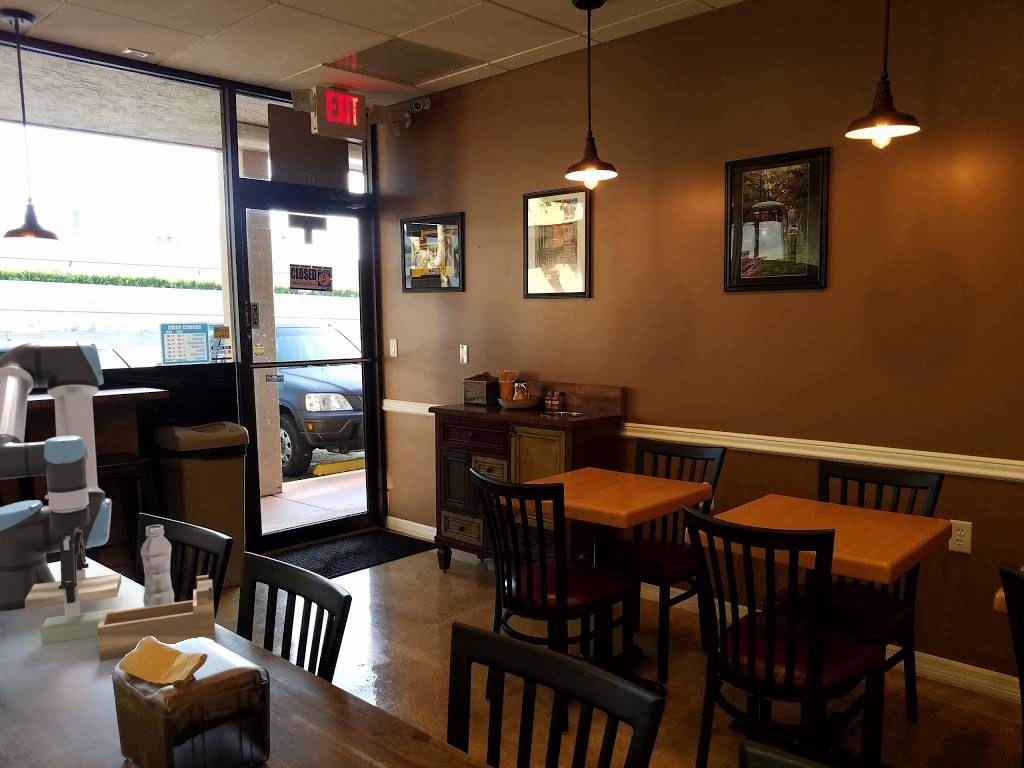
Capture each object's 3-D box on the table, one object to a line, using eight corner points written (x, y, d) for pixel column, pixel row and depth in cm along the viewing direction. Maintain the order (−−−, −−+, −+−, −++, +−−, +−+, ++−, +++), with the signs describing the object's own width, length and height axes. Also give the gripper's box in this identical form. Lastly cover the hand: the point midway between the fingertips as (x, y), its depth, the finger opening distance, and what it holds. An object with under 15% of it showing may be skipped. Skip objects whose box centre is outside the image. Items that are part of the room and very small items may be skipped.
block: (198, 591, 170) (197, 581, 170) (212, 589, 171) (212, 579, 171) (197, 600, 165) (197, 589, 165) (213, 598, 167) (212, 587, 166)
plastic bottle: (140, 609, 184) (134, 527, 182) (169, 601, 189) (164, 521, 186) (148, 617, 179) (143, 533, 177) (179, 609, 184) (174, 527, 182)
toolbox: (104, 642, 166) (101, 588, 165) (214, 625, 175) (211, 574, 173) (99, 662, 157) (95, 605, 156) (215, 644, 165) (212, 589, 164)
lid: (34, 593, 172) (34, 584, 172) (121, 581, 178) (120, 573, 178) (25, 609, 163) (24, 600, 163) (117, 597, 169) (116, 588, 169)
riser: (47, 631, 173) (46, 618, 172) (113, 621, 177) (112, 608, 177) (41, 644, 166) (40, 630, 166) (109, 633, 171) (108, 620, 170)
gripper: (58, 497, 178) (65, 591, 180) (39, 523, 157) (47, 629, 159) (95, 494, 180) (101, 587, 183) (81, 519, 159) (89, 623, 162)
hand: (76, 607), depth 171 cm, fingers closed on lid, 10 cm apart
